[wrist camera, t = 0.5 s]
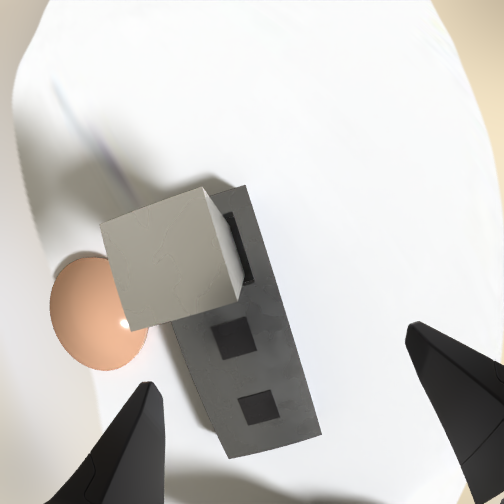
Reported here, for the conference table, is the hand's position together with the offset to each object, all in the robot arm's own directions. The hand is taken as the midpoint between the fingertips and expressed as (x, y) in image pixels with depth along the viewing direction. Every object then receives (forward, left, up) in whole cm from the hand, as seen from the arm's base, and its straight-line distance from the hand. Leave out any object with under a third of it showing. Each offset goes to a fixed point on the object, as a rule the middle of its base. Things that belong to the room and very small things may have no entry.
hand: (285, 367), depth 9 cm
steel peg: (+1, +5, -15) cm, 16 cm away
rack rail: (-3, 0, -15) cm, 15 cm away
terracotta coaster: (-9, +11, -15) cm, 21 cm away
